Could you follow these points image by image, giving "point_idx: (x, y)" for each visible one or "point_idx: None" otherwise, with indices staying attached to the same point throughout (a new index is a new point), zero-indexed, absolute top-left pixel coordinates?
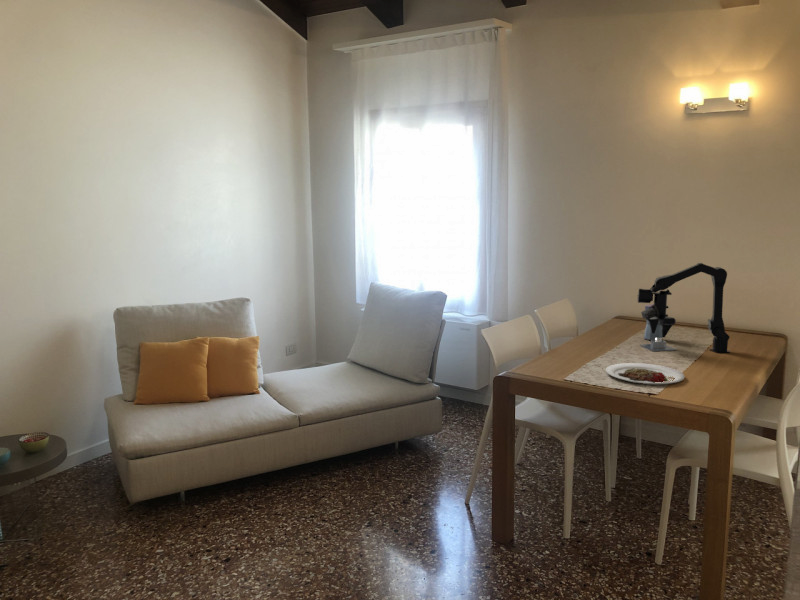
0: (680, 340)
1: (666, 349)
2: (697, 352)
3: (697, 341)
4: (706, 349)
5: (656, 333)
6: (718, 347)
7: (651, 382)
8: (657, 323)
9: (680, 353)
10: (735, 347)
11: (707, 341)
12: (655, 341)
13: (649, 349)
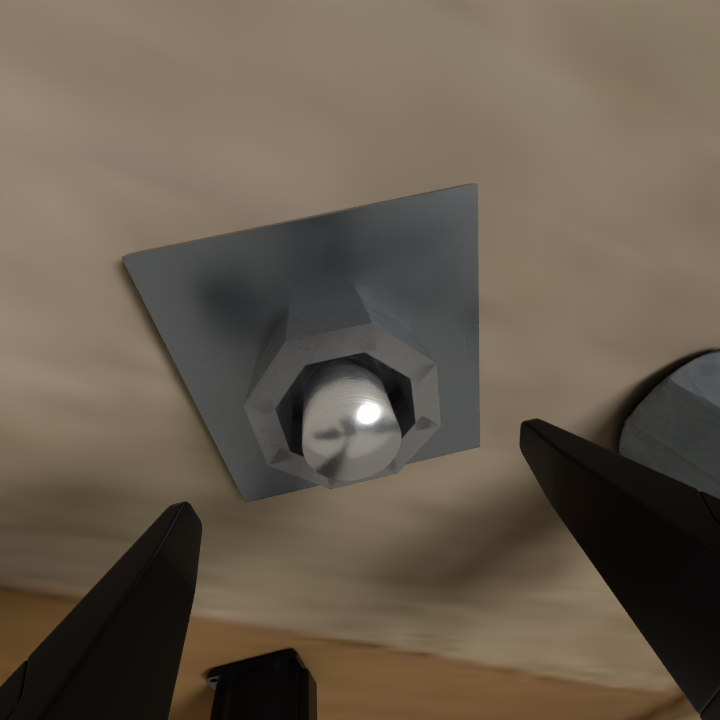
0: (581, 561)
1: (215, 423)
2: (206, 596)
3: (529, 621)
4: (315, 637)
5: (696, 476)
6: (222, 716)
7: None
8: (690, 696)
9: (122, 500)
10: (372, 714)
11: (517, 651)
12: (300, 370)
13: (218, 235)
